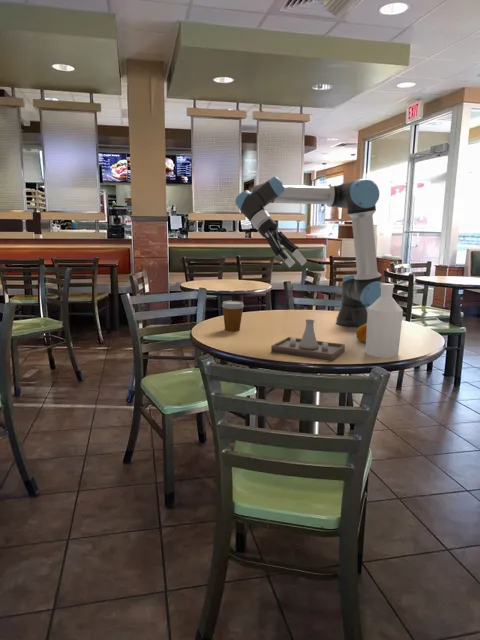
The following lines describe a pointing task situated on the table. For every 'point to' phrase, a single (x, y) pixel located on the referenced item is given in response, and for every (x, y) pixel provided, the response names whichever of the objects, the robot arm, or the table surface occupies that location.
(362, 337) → the fruit
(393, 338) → the bottle
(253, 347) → the table surface
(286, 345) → the caddy tray
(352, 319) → the robot arm
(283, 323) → the table surface
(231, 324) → the disposable coffee cup
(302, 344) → the flask
